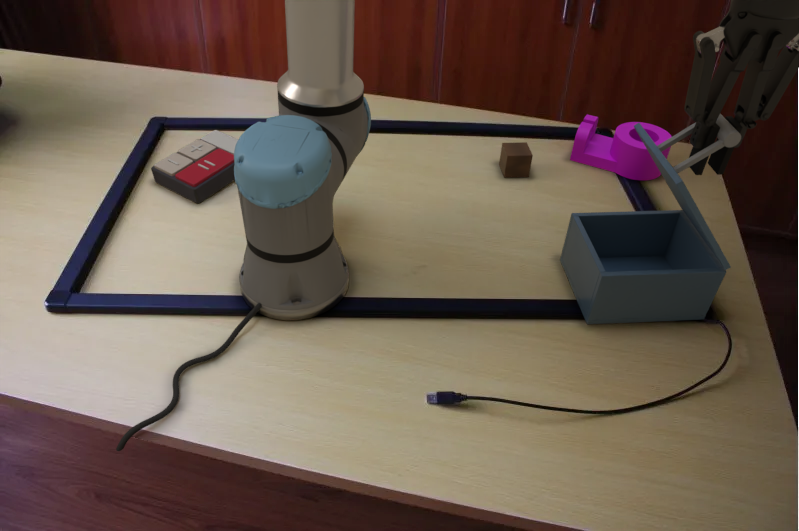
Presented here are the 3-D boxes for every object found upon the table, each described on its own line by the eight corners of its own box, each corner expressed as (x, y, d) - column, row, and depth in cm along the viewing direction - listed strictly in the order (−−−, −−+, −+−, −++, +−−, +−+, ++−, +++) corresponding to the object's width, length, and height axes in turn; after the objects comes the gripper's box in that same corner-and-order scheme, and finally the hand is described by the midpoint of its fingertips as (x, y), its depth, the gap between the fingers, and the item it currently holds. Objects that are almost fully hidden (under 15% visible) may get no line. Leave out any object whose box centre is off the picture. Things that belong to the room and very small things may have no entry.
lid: (676, 184, 73) (752, 140, 70) (633, 125, 83) (698, 84, 80) (725, 270, 83) (794, 235, 80) (681, 208, 93) (740, 175, 90)
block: (503, 177, 114) (507, 155, 111) (498, 164, 118) (502, 142, 115) (528, 177, 115) (532, 155, 112) (523, 163, 118) (526, 142, 115)
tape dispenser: (666, 160, 120) (677, 130, 116) (656, 186, 114) (667, 155, 109) (582, 138, 126) (590, 109, 121) (568, 161, 119) (575, 131, 115)
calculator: (148, 163, 107) (214, 125, 116) (154, 185, 110) (219, 145, 119) (193, 186, 103) (259, 144, 112) (198, 207, 106) (262, 164, 115)
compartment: (586, 324, 87) (602, 276, 81) (559, 259, 97) (571, 212, 92) (703, 319, 89) (727, 271, 83) (664, 256, 99) (683, 209, 93)
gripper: (831, -42, 68) (747, 152, 84) (695, -42, 67) (635, 154, 82) (877, -19, 63) (777, 184, 78) (728, -19, 61) (657, 187, 77)
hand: (704, 168), depth 80 cm, fingers closed on lid, 2 cm apart
